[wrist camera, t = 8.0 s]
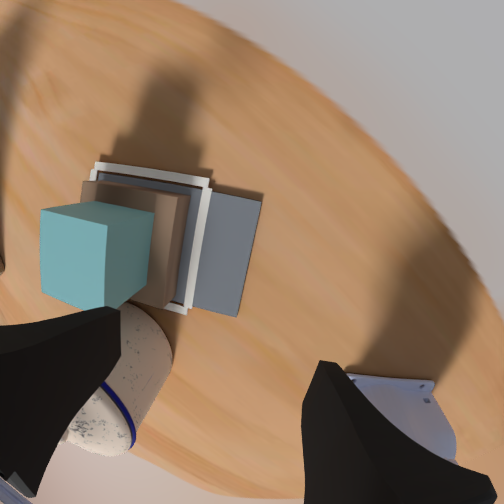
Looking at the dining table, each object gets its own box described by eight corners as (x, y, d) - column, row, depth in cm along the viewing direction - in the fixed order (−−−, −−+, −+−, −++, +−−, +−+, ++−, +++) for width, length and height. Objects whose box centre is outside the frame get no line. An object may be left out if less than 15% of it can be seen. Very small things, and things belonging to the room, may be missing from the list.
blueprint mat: (264, 189, 18) (264, 189, 17) (235, 324, 20) (234, 327, 20) (95, 161, 18) (92, 161, 18) (85, 280, 21) (82, 281, 20)
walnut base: (190, 195, 18) (177, 197, 16) (175, 295, 20) (162, 309, 17) (103, 180, 18) (82, 180, 16) (95, 270, 20) (76, 280, 18)
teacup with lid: (99, 273, 20) (-10, 338, 9) (194, 337, 21) (131, 454, 9) (73, 365, 23) (7, 432, 12) (146, 416, 24) (99, 502, 12)
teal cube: (154, 213, 16) (107, 225, 11) (146, 284, 17) (104, 318, 12) (94, 200, 16) (40, 209, 11) (89, 267, 17) (41, 291, 12)
